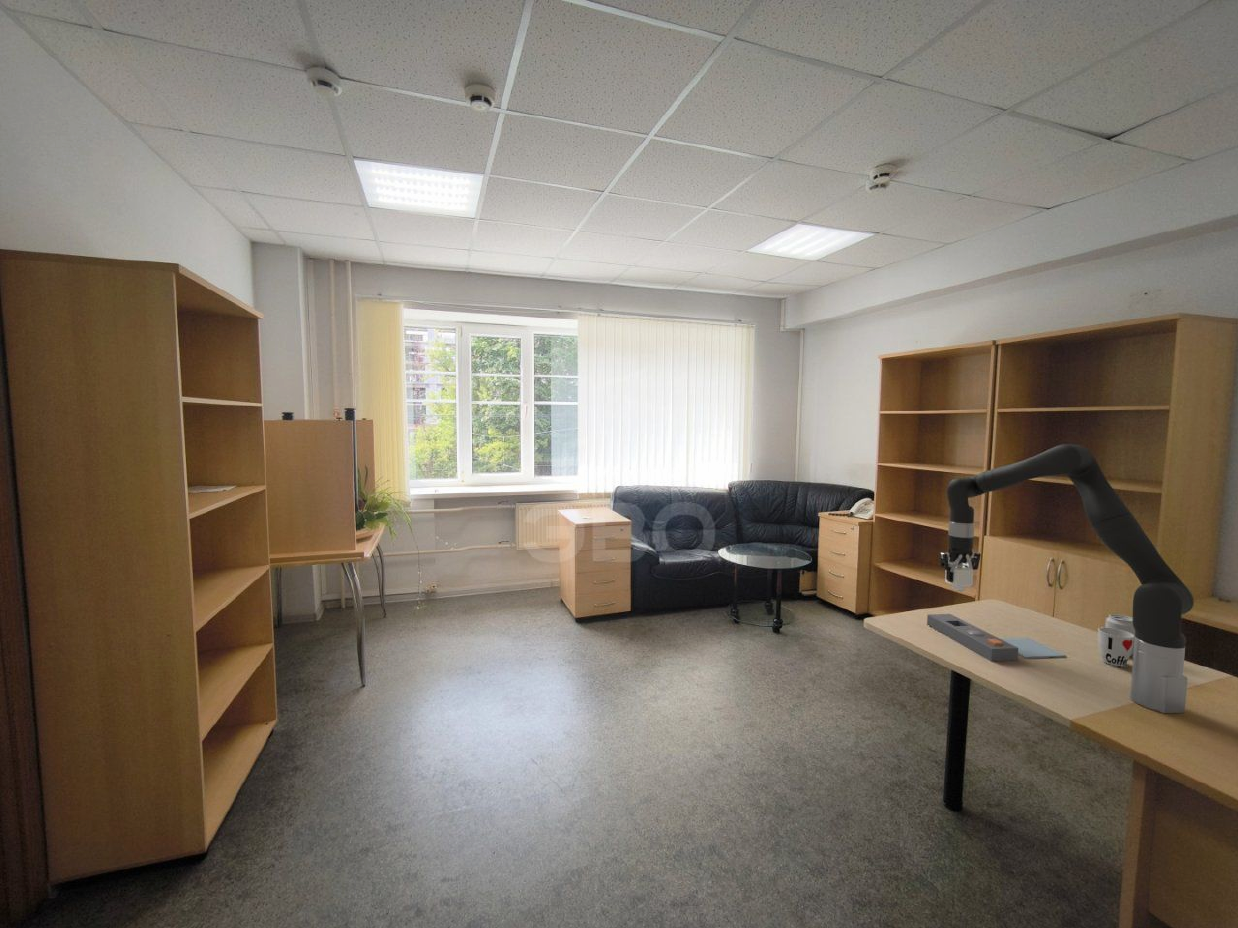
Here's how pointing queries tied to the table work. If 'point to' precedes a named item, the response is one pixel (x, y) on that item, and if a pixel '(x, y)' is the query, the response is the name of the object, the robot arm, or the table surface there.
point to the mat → (1032, 648)
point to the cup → (1115, 645)
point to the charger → (961, 578)
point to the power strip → (973, 637)
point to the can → (1121, 625)
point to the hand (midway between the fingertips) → (958, 581)
